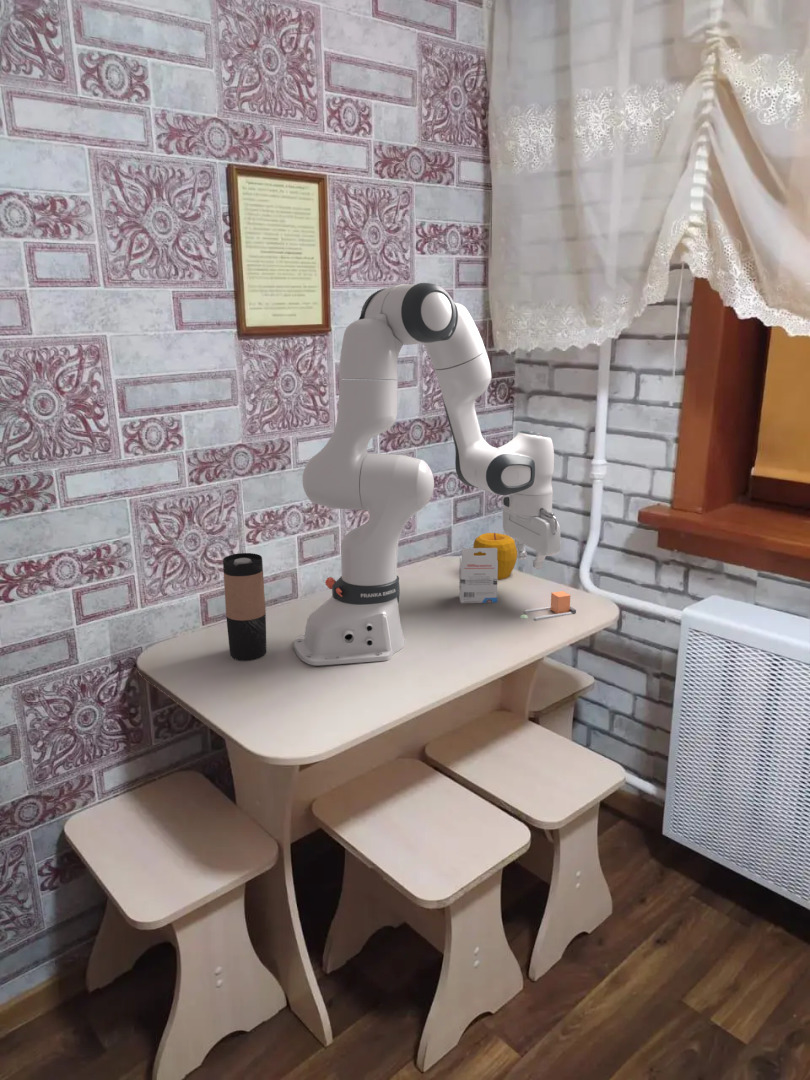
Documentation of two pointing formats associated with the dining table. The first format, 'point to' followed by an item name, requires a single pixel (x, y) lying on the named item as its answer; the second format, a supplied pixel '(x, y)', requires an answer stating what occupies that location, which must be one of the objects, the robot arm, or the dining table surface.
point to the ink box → (478, 576)
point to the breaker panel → (572, 611)
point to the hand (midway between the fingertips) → (529, 563)
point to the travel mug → (245, 606)
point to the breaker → (560, 602)
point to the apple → (499, 551)
